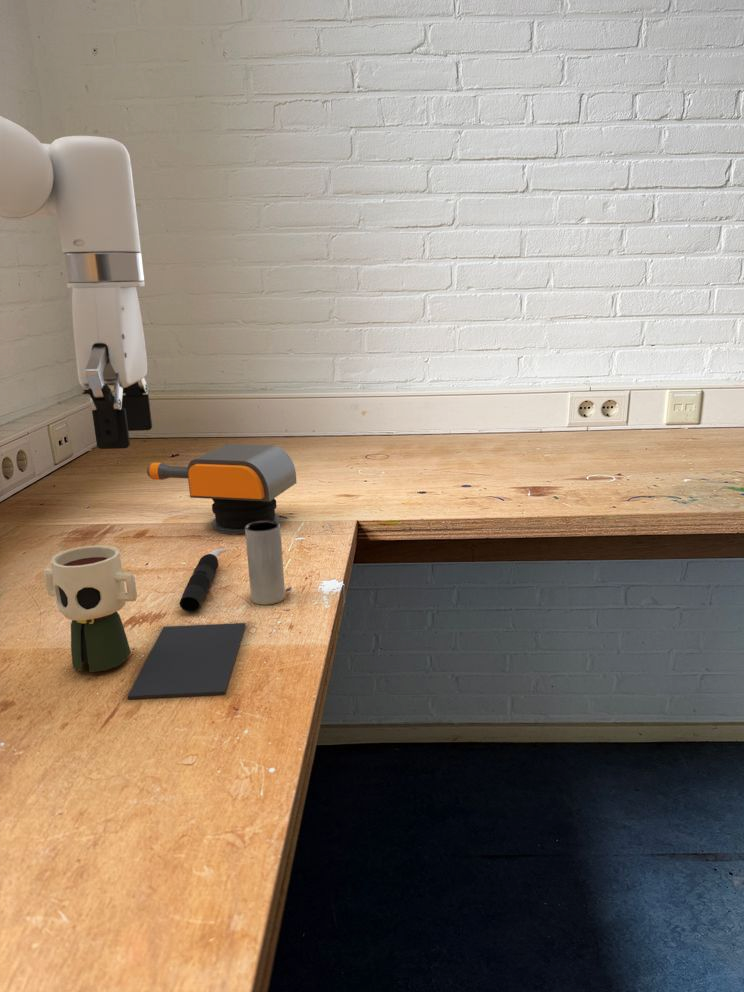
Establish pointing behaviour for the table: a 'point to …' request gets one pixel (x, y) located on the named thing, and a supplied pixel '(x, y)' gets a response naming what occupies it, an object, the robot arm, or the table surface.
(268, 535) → the grey hollow cylinder
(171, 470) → the toy turret
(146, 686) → the mat
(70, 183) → the robot arm
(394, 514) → the table surface
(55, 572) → the character mug
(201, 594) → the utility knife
